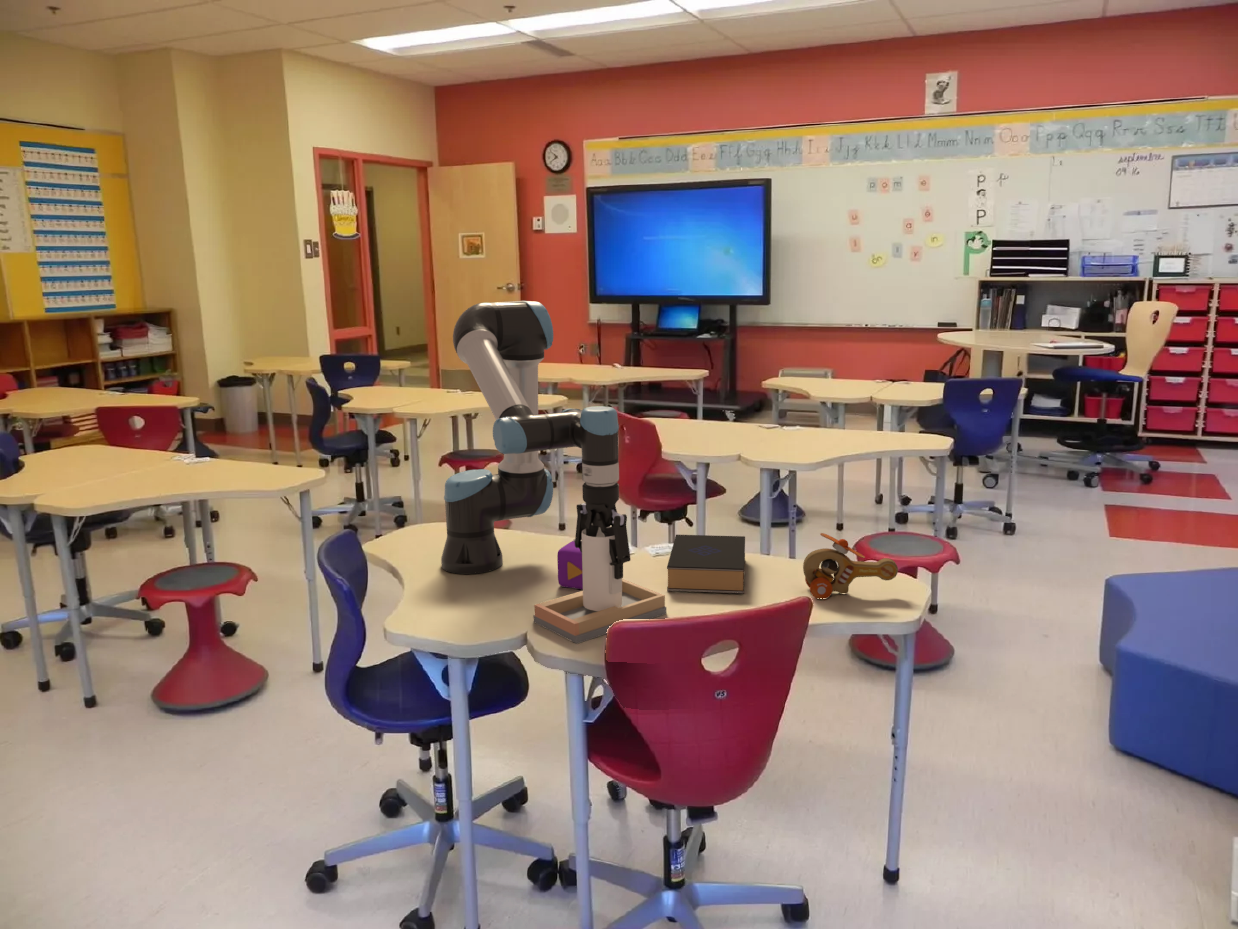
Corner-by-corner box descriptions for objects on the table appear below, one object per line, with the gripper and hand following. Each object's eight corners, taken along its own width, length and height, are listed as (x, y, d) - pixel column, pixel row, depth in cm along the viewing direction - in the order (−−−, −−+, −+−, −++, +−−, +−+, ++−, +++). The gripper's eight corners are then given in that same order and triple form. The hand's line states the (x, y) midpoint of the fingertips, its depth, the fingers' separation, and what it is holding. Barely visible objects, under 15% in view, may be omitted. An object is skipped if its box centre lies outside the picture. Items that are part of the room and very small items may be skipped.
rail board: (533, 622, 196) (533, 604, 195) (621, 595, 211) (621, 578, 210) (576, 643, 185) (576, 624, 184) (666, 613, 200) (666, 595, 199)
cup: (582, 598, 202) (580, 526, 198) (620, 596, 202) (619, 525, 199) (584, 612, 194) (582, 538, 190) (623, 610, 194) (622, 536, 191)
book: (744, 561, 234) (745, 536, 233) (743, 597, 210) (744, 568, 209) (675, 559, 237) (675, 534, 235) (667, 594, 213) (666, 566, 211)
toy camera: (613, 594, 212) (612, 552, 210) (555, 591, 215) (553, 549, 213) (622, 578, 222) (622, 538, 220) (567, 575, 225) (565, 535, 223)
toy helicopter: (799, 587, 214) (801, 530, 211) (891, 587, 214) (894, 529, 211) (805, 600, 206) (807, 540, 204) (900, 600, 206) (903, 540, 203)
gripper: (555, 476, 198) (558, 578, 203) (619, 494, 182) (621, 605, 187) (583, 471, 202) (585, 571, 207) (648, 488, 187) (649, 596, 192)
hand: (602, 587), depth 197 cm, fingers closed on cup, 8 cm apart
